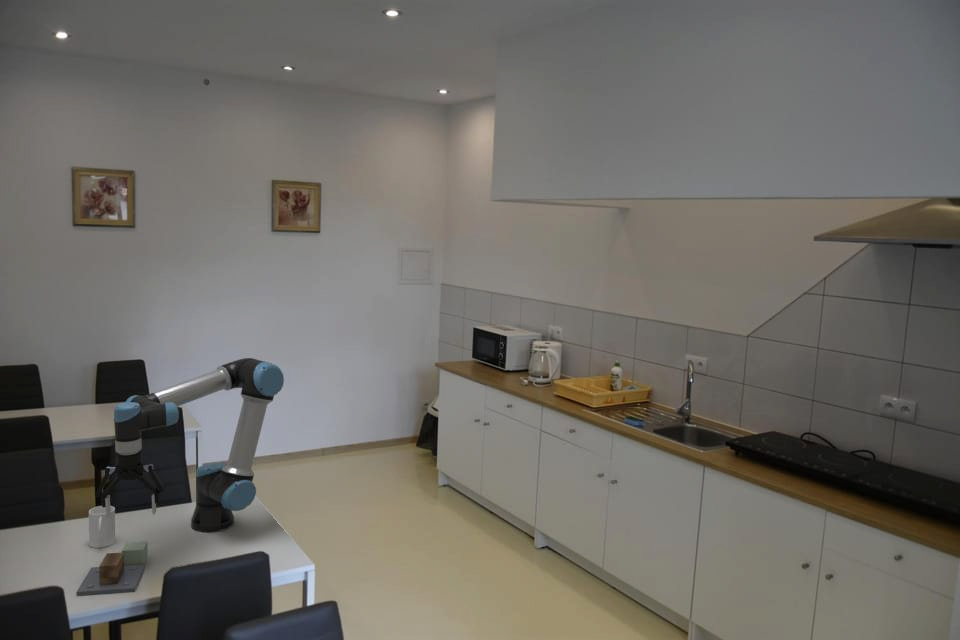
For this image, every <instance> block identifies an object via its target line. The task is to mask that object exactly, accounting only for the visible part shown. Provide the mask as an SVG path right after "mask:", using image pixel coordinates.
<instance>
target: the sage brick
mask: <svg viewBox="0 0 960 640" xmlns="http://www.w3.org/2000/svg"><path fill="white" fill-rule="evenodd" d="M124 544H125V545H124V546H123V548H122V550H121V553H123V552H124V565H138V564H146V562H147V560H148V558H149V557H148V552H149V550H148V541H145V540H144V541H143V540H142V541H128V542H125V543H124Z"/></svg>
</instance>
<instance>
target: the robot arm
mask: <svg viewBox="0 0 960 640" xmlns="http://www.w3.org/2000/svg"><path fill="white" fill-rule="evenodd" d="M284 380H285V379H284V374H283V372H282V369H280V367H279V366H278V365H276V364H273V363H272V362H269V361H264V360H261V359H257V358H252V357H246V358H241V359H237V360H232V361H231V362H228V363H224V364H222V365H219V366H218V367H216V370H212V371H211V372H208V373H204V374H202V375H199V376H197V377H194V378H191V379H188V380H185V381H183V382H180V383H177V384H174V385H171V386H168V387H165V388H163V389H160V390H158V391H154V392H151V393H148V394H146V395H135V394H134V395H132V396H130V397H128V398H127V399H126V401H125V402H123V403H122V402H121V403H119V404H117V405H115V406H114V411H113V422H114V424H113V425H114V426H113V427H114V444H115V446H114V447H115V449H114V450H115V452H116V453H115V465H116V466H113V467H112V466H110V465H108V466H106V468H104V470H105V471H104V475H103V478H102V480H101V482H100V484H99V486H98V488H97V490H96V492H95V493H94V496H95V497H96V498H101V506H102V507H106V518H109V516H110V515H111V512H110V506H111V495H110V493H111V491H112V490H113V489H114V488H115V487H116V486H117V484H119V482H120V481H121V480H122V481H135V480H138V481H139V482H141V483H142V484H143V485H144V486H145V487H146V488H147V489H149V490H150V492H152V494H151V508H152V509H151V510H152V513H151V514H152V515H156V513H157V504H159V502H160V493H164V491H165V489H166V486H165V485H164V483H163V481H162V479H160V477H159V475H158V473H157V472H156V471H155V467H154V464H153V463H152V462H151V463H149V464H145V465H144V463H143V452H142V449H143V448H142V447H143V443H142V432H143V431H148V430H153V429H160V428H164V427H169V426H172V425H175V424H177V422H178V421H179V418H180V417H179V415H180V411H179V408H178V407H180V406H182V405H185V404H188V403H191V402H194V401H196V400H198V399H201V398H204V397H207V396H209V395H212V394H214V393H217V392H220V391H226V392H227V391H230V390H233V389H241V391H240V396H241V398H242V399H243V401H242V406H241V409H240V412H239V417H238V420H237V425H236V428H235V431H234V437H233V441H232V445H231V448H230V452H229V456H228V460H227V462H212V463H207V464H204V465H200V466H199V467H197V468H196V472H195V509H194V511H193V514H192V517H191V519H190V528H191V529H193V530H194V531H196V532H202V533H212V532H219V531H224V530H226V529H229V528H230V527H232V526H233V525H234V523H235V521H234V520H235V515H234V512H238V511H243V510H245V509H247V508H248V506H250V505H251V504H252V503H253V502H254V499H255V497H256V495H257V488H256V486H255V484H254V482H253V481H254V476H255V472H254V471H253V470H252V467H253V463H254V459H255V455H256V451H257V447H258V444H259V439H260V435H261V432H262V428H263V425H264V424H263V423H264V420H265V416H266V411H267V407H268V405H269V404H270V403H272V402H274V396H276V395H278V394H279V392H281V391H282V388H283V387H284V383H285V381H284ZM144 470H145V471H146V473H147V472H148V474H149V475H150V478H151V479H152V481H153V482H154V483H153V482H152V481H151V480H150V479H149V478H148V477H146V475H145V474H144V473H143V472H144ZM113 473H116V475H117V477H116V478H115V479H114V480H113V481H112V483H110V484H109V485H108V487H107V488H106V489H105V490H104V491H103V489H104V487H105V485H106V484H107V482H108V479H109V477H110V476H111V475H112V474H113Z"/></svg>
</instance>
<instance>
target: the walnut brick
mask: <svg viewBox="0 0 960 640" xmlns="http://www.w3.org/2000/svg"><path fill="white" fill-rule="evenodd" d="M98 567H99V585H108V584H118V582H119V580H120V578H121V576H122V574H123V572H124V552H123V553H122V552H109V553H106V554H105V556H104V557H103V559H102V561H101V562H100V565H99V566H98Z"/></svg>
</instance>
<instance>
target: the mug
mask: <svg viewBox="0 0 960 640" xmlns="http://www.w3.org/2000/svg"><path fill="white" fill-rule="evenodd" d="M110 512H111V515H110V516H109V518H106V507H102V505H98V506H95V507H92V508H90V509H89V510H88V543H87V544H88V546H89V547H90V548H97V549H98V548H99V549H102V548H107V547H110V546H112V545H115V543H116V541H117V538H116V508H115V506H114V505H113V506H112V505H110ZM106 546H107V547H106ZM101 547H102V548H101Z"/></svg>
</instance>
